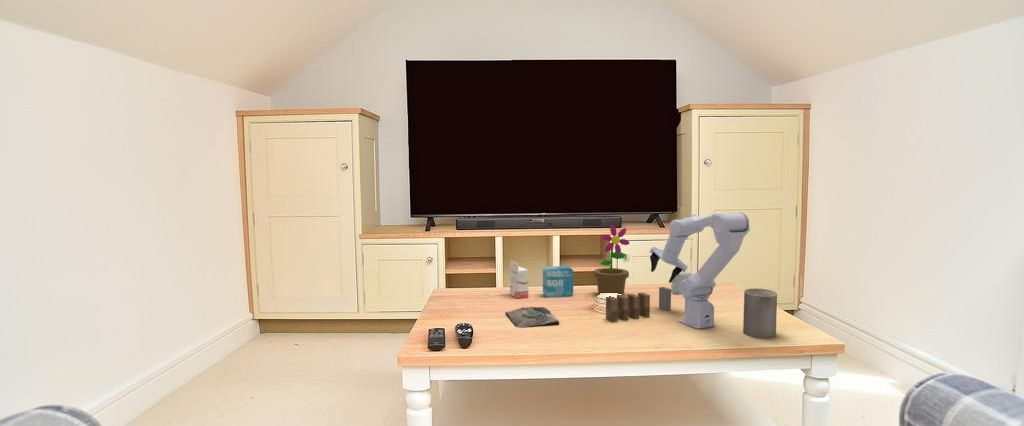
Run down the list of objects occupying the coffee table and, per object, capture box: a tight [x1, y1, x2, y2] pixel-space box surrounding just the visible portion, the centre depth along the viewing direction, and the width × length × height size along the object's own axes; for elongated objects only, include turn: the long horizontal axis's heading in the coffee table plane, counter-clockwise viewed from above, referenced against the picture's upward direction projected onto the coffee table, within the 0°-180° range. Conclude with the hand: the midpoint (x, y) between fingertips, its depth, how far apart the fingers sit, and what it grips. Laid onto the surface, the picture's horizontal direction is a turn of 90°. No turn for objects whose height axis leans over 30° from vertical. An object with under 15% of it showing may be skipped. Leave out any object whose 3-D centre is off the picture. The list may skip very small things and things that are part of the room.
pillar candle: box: [742, 288, 778, 339], centre depth 175 cm, size 10×10×15 cm
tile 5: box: [605, 296, 619, 323], centre depth 191 cm, size 4×2×8 cm, turn 22°
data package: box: [542, 265, 574, 298], centre depth 226 cm, size 12×4×12 cm, turn 99°
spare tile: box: [658, 286, 672, 312], centre depth 205 cm, size 4×2×8 cm, turn 22°
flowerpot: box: [593, 224, 631, 296], centre depth 225 cm, size 14×14×30 cm
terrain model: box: [504, 306, 560, 329], centre depth 195 cm, size 20×15×3 cm
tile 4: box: [617, 295, 629, 322], centre depth 193 cm, size 4×2×8 cm, turn 23°
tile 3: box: [626, 293, 640, 320], centre depth 195 cm, size 4×2×8 cm, turn 22°
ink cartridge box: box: [509, 260, 529, 299], centre depth 226 cm, size 9×5×15 cm, turn 25°
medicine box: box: [670, 271, 693, 295], centre depth 229 cm, size 8×4×9 cm, turn 84°
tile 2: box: [637, 292, 651, 319], centre depth 196 cm, size 4×2×8 cm, turn 22°
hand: (661, 275), depth 205 cm, fingers open, 7 cm apart
